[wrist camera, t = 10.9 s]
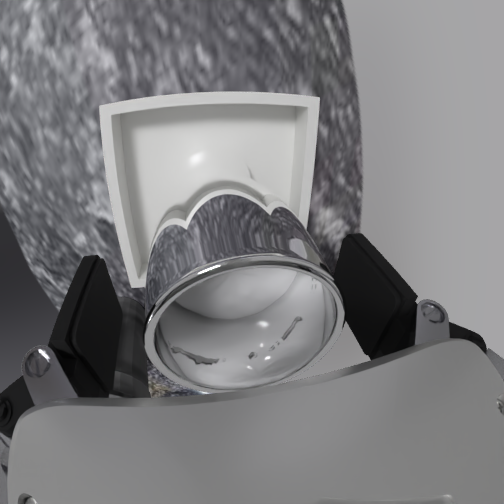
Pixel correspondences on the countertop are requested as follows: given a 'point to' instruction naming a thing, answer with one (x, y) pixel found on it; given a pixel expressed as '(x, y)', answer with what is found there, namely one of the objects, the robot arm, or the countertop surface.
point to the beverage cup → (131, 354)
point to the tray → (195, 139)
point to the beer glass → (235, 283)
